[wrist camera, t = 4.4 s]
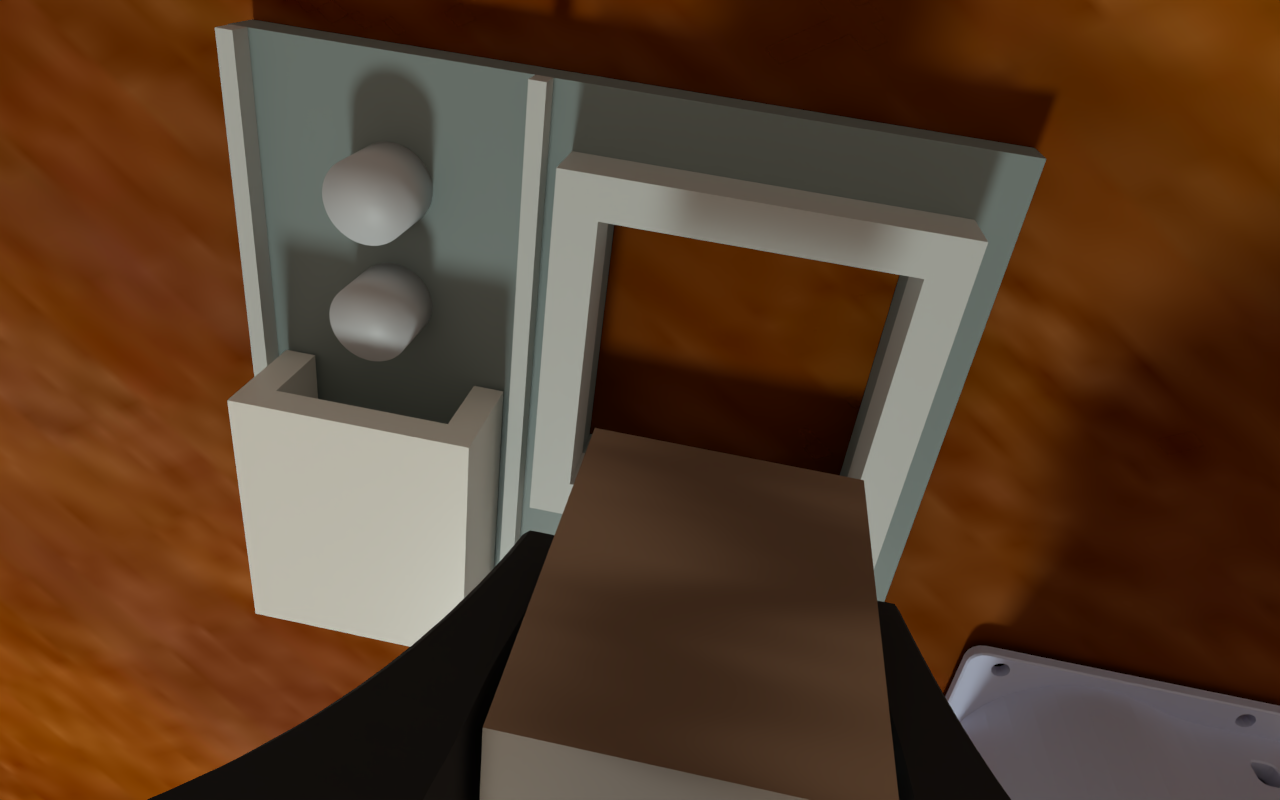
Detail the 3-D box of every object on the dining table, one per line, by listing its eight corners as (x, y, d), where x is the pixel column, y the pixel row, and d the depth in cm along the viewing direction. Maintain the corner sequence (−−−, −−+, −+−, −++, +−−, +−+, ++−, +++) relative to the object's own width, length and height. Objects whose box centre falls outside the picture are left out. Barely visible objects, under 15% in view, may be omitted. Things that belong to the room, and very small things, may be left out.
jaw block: (863, 479, 14) (900, 819, 9) (801, 666, 16) (804, 1018, 11) (595, 427, 14) (482, 728, 9) (572, 617, 17) (473, 939, 12)
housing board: (1034, 147, 19) (1066, 177, 17) (850, 662, 27) (855, 727, 25) (252, 19, 20) (187, 31, 18) (301, 547, 28) (260, 600, 26)
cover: (503, 391, 23) (468, 448, 20) (492, 589, 26) (461, 657, 24) (286, 349, 23) (227, 400, 21) (304, 550, 26) (255, 613, 24)
